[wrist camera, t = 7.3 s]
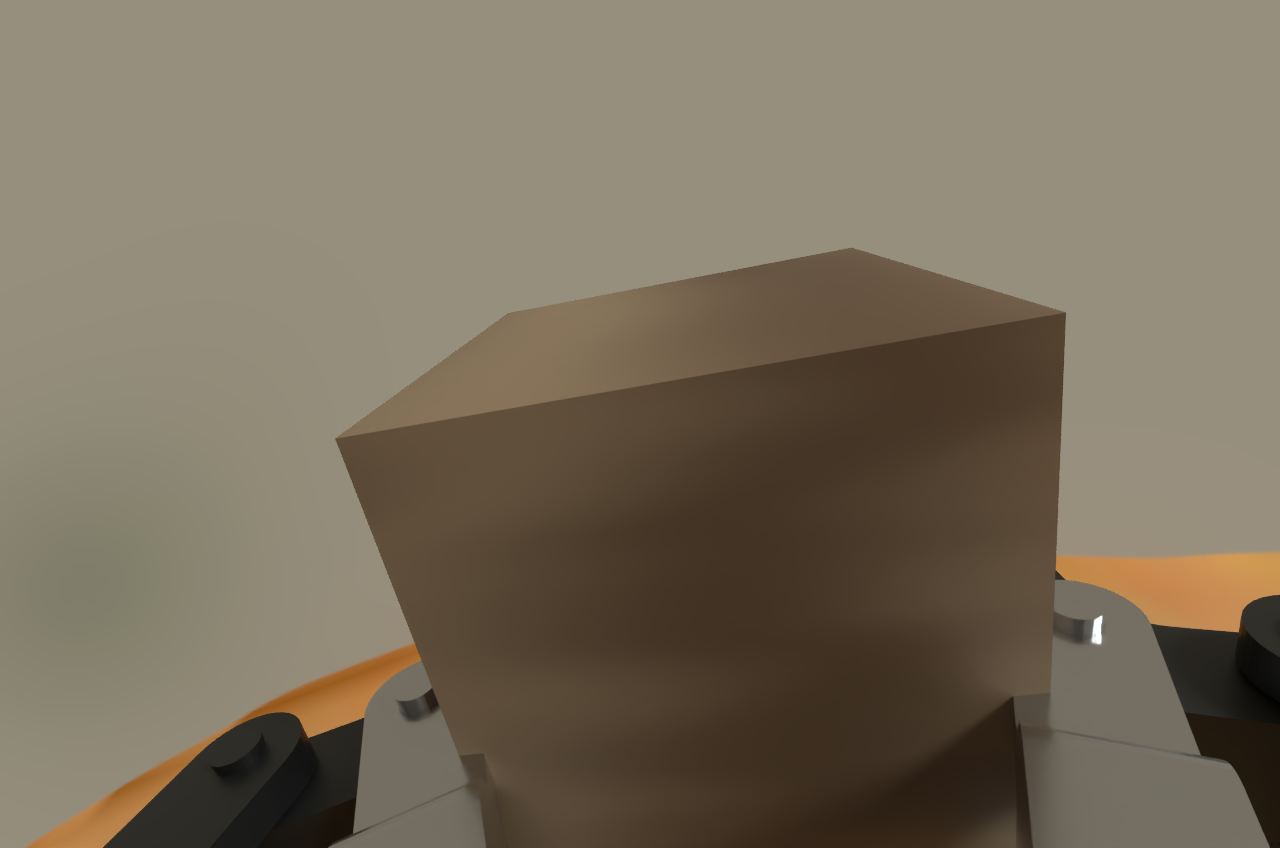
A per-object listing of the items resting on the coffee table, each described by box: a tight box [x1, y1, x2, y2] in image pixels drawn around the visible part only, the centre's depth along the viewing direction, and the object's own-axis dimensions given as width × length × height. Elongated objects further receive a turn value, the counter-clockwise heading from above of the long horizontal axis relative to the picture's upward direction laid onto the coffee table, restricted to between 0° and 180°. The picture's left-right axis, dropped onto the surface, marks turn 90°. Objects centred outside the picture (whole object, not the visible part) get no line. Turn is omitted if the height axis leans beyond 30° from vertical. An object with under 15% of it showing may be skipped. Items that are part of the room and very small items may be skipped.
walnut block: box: [336, 248, 1066, 848], centre depth 9 cm, size 6×6×11 cm
